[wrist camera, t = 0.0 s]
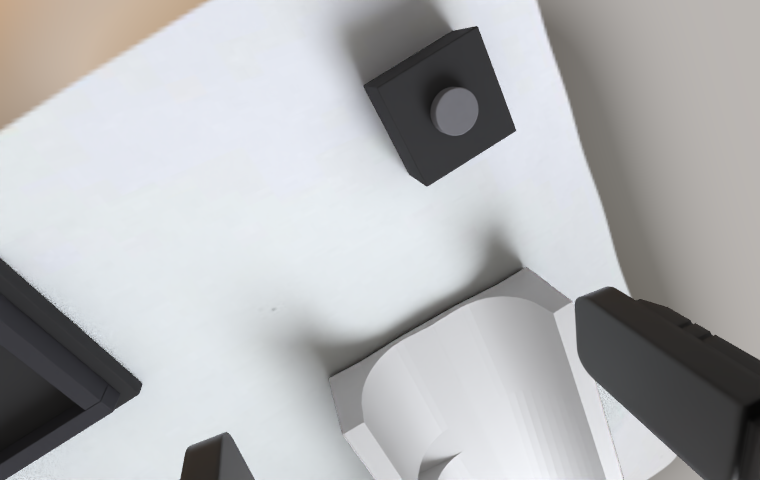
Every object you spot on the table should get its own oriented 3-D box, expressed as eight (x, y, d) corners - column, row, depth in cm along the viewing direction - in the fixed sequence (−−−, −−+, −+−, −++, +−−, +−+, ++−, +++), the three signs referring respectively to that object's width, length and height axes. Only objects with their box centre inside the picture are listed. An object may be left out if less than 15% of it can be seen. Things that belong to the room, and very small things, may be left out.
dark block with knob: (362, 85, 24) (380, 88, 21) (453, 30, 24) (485, 23, 21) (409, 175, 27) (432, 191, 23) (490, 124, 27) (525, 132, 24)
